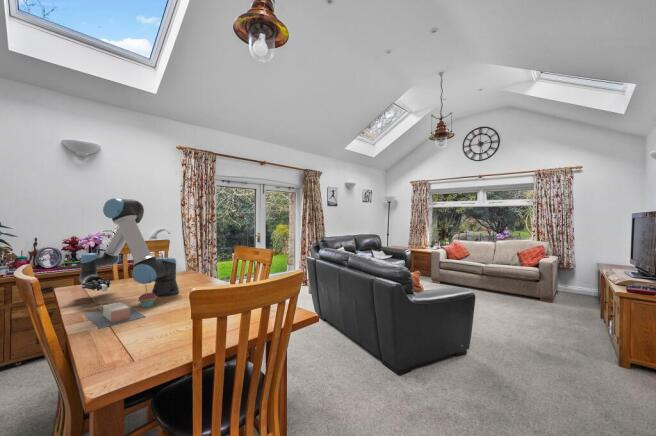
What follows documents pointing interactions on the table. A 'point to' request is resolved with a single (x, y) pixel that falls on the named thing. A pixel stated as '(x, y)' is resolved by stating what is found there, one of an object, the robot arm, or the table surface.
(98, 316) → the mat
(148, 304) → the cupcake
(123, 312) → the tall block
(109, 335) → the table surface
